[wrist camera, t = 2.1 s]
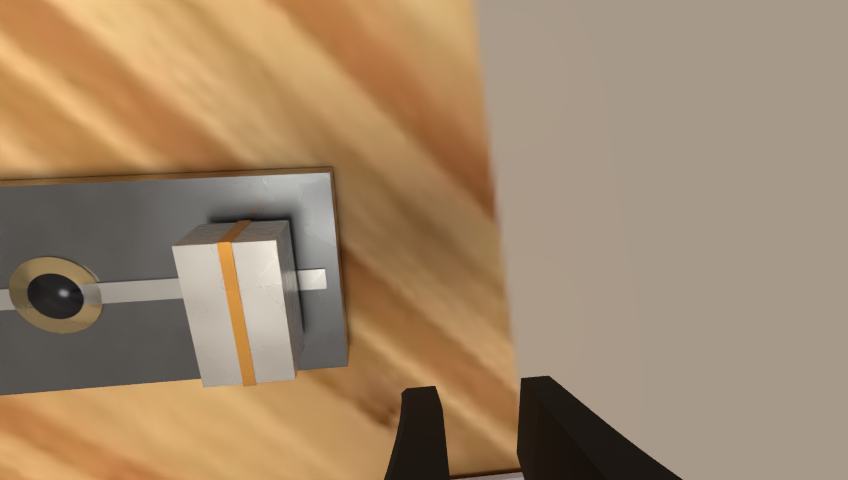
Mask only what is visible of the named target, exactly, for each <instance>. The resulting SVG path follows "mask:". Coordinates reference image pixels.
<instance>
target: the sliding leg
mask: <svg viewBox="0 0 848 480" xmlns="http://www.w3.org/2000/svg"><path fill="white" fill-rule="evenodd" d="M172 250H173V255H174V259H175V264H176V268H177V272H178V277H179V281H180V286H181V290H182V295H183V299H184V304H185V308H186V313H187V317H188V321H189V326H190V330H191V335H192V339H193V344H194V348H195V353H196V357H197V362H198V366H199V370H200V375H201V379H202V384H203V387H215V386H226V385H238V384H243V386H252V385H256V383H261V382H273V381H285V380H295V379H296V375H297V372H298V368H299V364H300V360H301V356H302V353H303V349H304V345H305V342H304V335H303V327H302V319H301V311H300V304H299V296H298V288H297V280H296V273H295V265H294V257H293V249H292V242H291V234H290V226H289V220H278V221H259V222H251V221H250V220H244V221H238V222H237V223H220V224H201V225H198V226H197V227H195V228H194V229H193V230H192V231H190V232H189V233H188V234H187V235H185V236H184V237H183V238H182V239H180V240H179V241H178V242H177V243H175V244H174V245H173V246H172Z"/></svg>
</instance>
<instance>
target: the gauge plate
mask: <svg viewBox="0 0 848 480" xmlns="http://www.w3.org/2000/svg"><path fill="white" fill-rule="evenodd" d="M244 220H250V221H251V222H259V221H278V220H289V226H290V234H291V242H292V249H293V257H294V265H295V273H296V280H297V288H298V296H299V304H300V311H301V319H302V327H303V335H304V342H305V345H304V349H303V353H302V356H301V360H300V364H299V368H298V370H309V369H320V368H332V367H344V366H348V358H349V342H348V331H347V320H346V309H345V298H344V287H343V276H342V265H341V254H340V244H339V233H338V222H337V211H336V200H335V189H334V178H333V167H318V168H294V169H270V170H245V171H221V172H197V173H173V174H149V175H124V176H100V177H76V178H52V179H28V180H3V181H0V395H11V394H23V393H35V392H47V391H59V390H71V389H83V388H94V387H106V386H118V385H130V384H142V383H154V382H166V381H178V380H190V379H201V375H200V370H199V366H198V362H197V357H196V353H195V348H194V344H193V339H192V335H191V330H190V326H189V321H188V317H187V313H186V308H185V304H184V299H183V295H182V290H181V286H180V281H179V277H178V272H177V268H176V264H175V259H174V255H173V250H172V246H173V245H174V244H175V243H177V242H178V241H179V240H180V239H182V238H183V237H184V236H185V235H187V234H188V233H189V232H190V231H192V230H193V229H194V228H195V227H197V226H198V225H201V224H220V223H237V222H238V221H244Z"/></svg>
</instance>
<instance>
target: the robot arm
mask: <svg viewBox="0 0 848 480" xmlns="http://www.w3.org/2000/svg"><path fill="white" fill-rule="evenodd" d="M401 396H402V405H401V415H400V421H399V426H398V431H397V436H396V440H395V444H394V447H393V451H392V454H391V458H390V462H389V465H388V469H387V472H386V475H385V478H384V480H450V476H449V467H448V457H447V447H446V437H445V428H444V418H443V409H442V405H441V402H440V399H439V395H438V392H437V389H436V387H435V386H428V387H417V388H407V389H406V390H405V391H404V392H402V393H401ZM517 456H518V460H519V463H520V466H521V470H522V472H517V473H508V474H499V475H490V476H481V477H472V478H463V479H454V480H682V479H681V478H680V477H678V476H677V475H675V474H674V473H673V472H671V471H670V470H668V469H667V468H666V467H664V466H663V465H661V464H660V463H659V462H657V461H656V460H654V459H653V458H652V457H650V456H649V455H648V454H646V453H645V452H643V451H642V450H641V449H639V448H638V447H637V446H635V445H634V444H633V443H631V442H630V441H629V440H628V439H626V438H625V437H624V436H622V435H621V434H620V433H619V432H617V431H616V430H615V429H614V428H612V427H611V426H610V425H608V424H607V423H606V422H605V421H604V420H602V419H601V418H600V417H599V416H597V415H596V414H595V413H594V412H592V411H591V410H590V409H589V408H588V407H586V406H585V405H584V404H583V403H581V402H580V401H579V400H578V399H577V398H575V397H574V396H573V395H572V394H571V393H569V392H568V391H567V390H566V389H565V388H563V387H562V386H561V385H560V384H558V383H557V382H556V381H555V380H554V379H552V378H551V377H550V376H539V377H528V378H521V389H520V406H519V423H518V440H517Z"/></svg>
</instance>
